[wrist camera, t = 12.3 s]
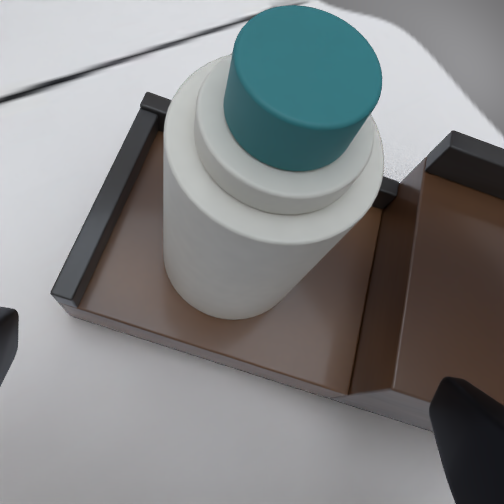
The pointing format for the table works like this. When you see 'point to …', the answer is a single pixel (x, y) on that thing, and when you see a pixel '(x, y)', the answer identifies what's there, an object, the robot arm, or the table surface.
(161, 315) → the tray
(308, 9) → the bottle
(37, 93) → the table surface
